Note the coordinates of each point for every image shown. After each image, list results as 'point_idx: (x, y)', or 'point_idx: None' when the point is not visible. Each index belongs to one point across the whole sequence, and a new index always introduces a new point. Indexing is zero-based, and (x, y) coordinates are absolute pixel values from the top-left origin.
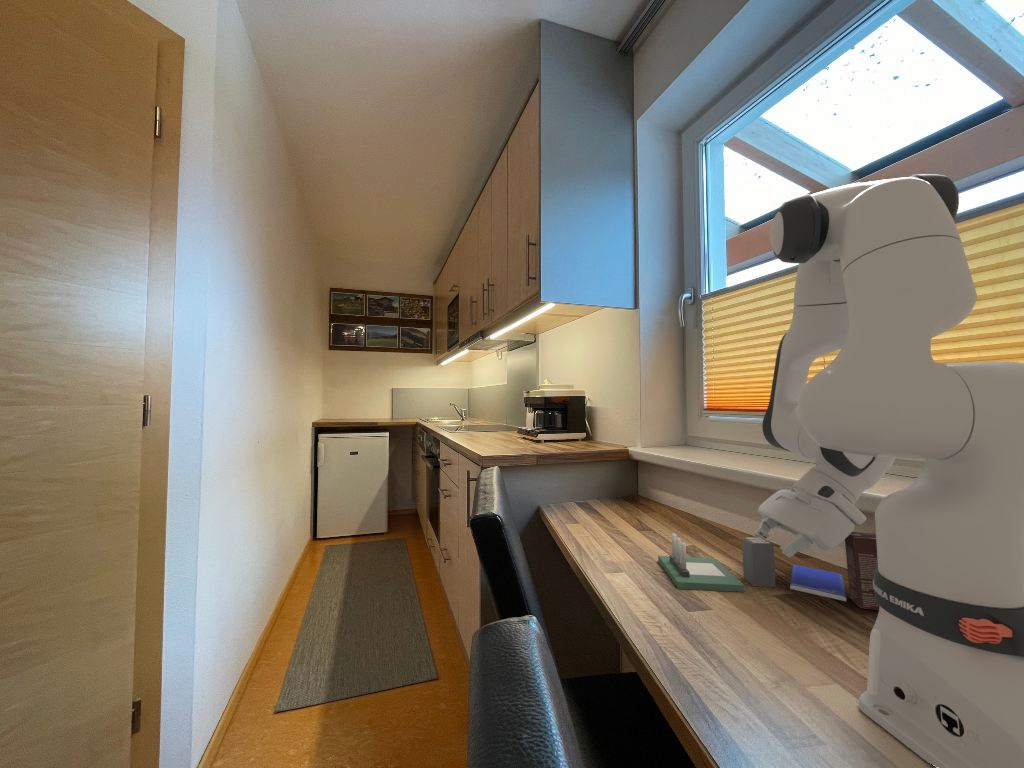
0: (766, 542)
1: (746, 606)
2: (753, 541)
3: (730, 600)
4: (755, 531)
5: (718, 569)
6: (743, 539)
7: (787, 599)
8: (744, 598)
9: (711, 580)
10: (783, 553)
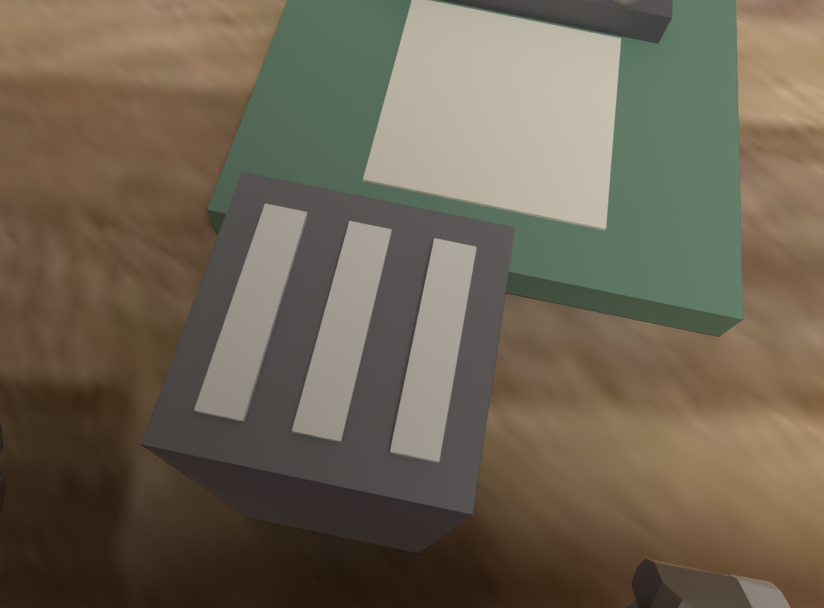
0: (220, 379)
1: (49, 126)
2: (297, 231)
3: (137, 93)
4: (771, 597)
5: (484, 203)
6: (472, 230)
7: (43, 441)
8: (138, 177)
9: (315, 69)
10: (4, 487)
